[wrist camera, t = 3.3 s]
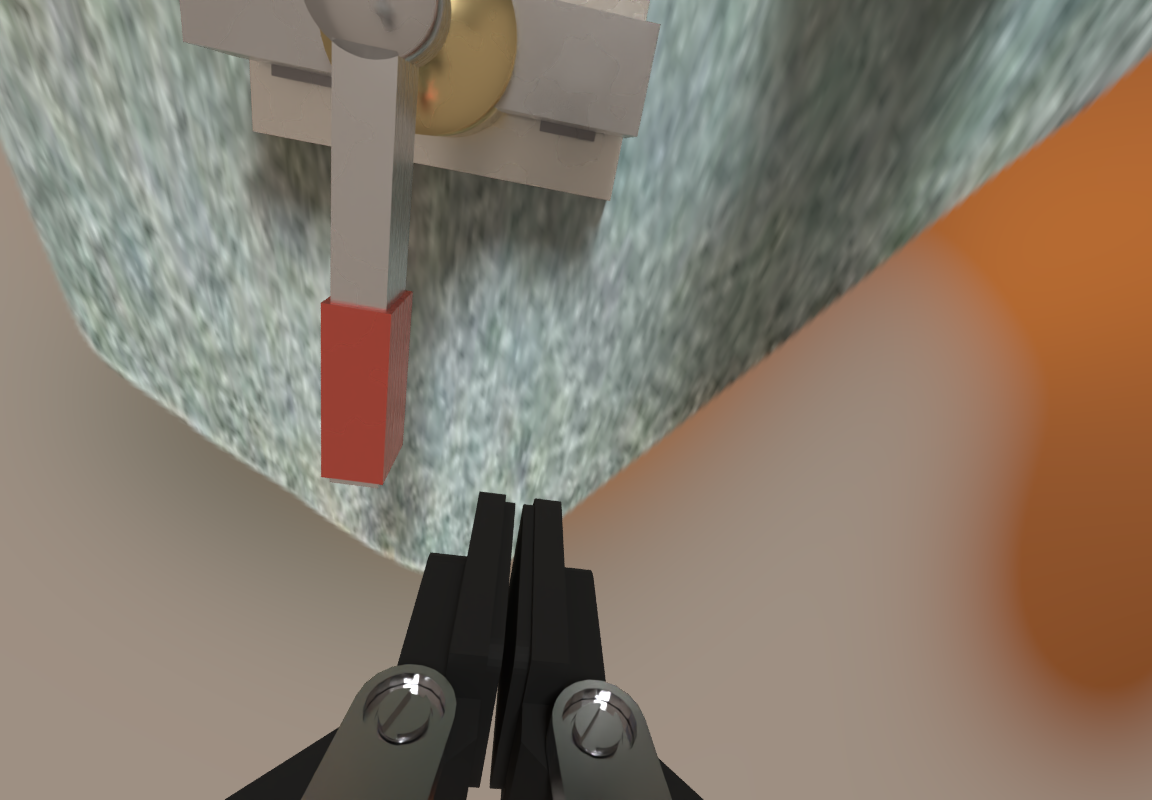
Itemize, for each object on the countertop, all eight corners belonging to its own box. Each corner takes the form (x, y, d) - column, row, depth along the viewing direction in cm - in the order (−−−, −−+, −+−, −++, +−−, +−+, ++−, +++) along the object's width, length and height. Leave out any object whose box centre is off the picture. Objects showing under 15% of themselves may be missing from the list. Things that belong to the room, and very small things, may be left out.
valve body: (650, -21, 24) (710, -123, 15) (607, 197, 27) (635, 223, 18) (259, -116, 22) (57, -299, 13) (268, 132, 26) (116, 124, 17)
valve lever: (336, -79, 15) (291, -127, 12) (458, -50, 15) (439, -90, 12) (332, 441, 21) (302, 481, 19) (418, 453, 21) (400, 494, 19)
